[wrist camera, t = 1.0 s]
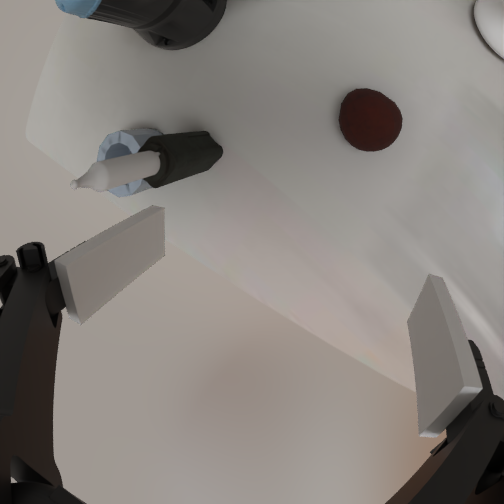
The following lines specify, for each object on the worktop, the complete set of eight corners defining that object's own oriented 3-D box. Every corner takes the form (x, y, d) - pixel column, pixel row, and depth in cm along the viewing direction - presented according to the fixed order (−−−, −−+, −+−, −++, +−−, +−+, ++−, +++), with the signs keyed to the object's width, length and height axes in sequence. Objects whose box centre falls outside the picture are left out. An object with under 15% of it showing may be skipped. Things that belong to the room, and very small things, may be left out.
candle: (183, 150, 44) (50, 185, 22) (204, 128, 41) (67, 144, 20) (204, 174, 44) (76, 225, 23) (226, 151, 42) (97, 186, 20)
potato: (352, 156, 36) (352, 162, 30) (329, 101, 34) (324, 94, 28) (405, 140, 33) (417, 142, 26) (383, 84, 31) (390, 73, 24)
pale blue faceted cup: (119, 154, 48) (89, 161, 41) (151, 116, 43) (120, 118, 37) (147, 197, 49) (119, 208, 43) (183, 161, 45) (155, 169, 38)
